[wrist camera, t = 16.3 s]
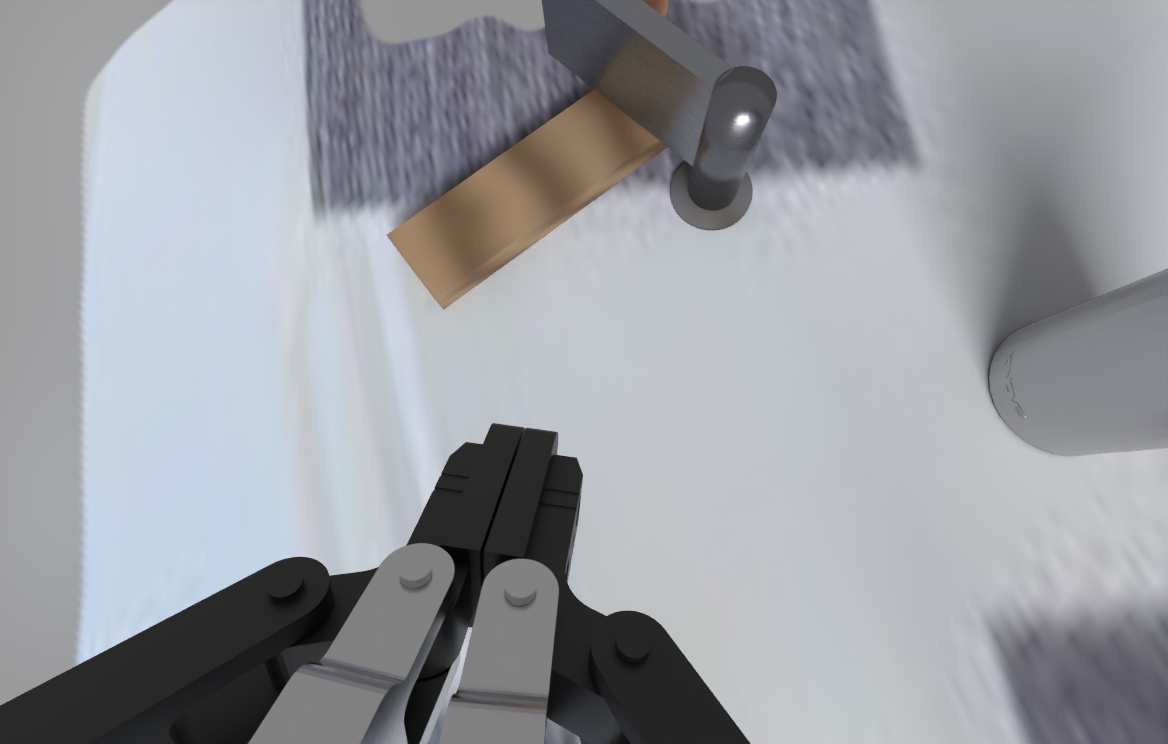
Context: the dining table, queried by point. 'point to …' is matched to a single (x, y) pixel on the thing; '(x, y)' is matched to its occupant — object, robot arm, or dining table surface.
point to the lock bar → (667, 87)
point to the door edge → (540, 195)
